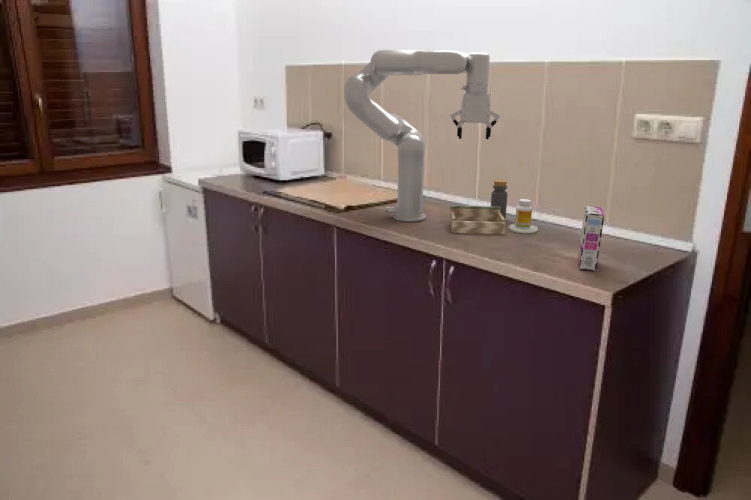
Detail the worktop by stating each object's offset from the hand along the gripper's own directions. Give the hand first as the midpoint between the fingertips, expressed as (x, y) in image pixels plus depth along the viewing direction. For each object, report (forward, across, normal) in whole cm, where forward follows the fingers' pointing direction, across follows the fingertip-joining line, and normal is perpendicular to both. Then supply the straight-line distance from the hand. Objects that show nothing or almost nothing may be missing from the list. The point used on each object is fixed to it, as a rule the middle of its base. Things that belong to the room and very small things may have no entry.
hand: (473, 138), depth 209 cm
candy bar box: (+31, +29, -50) cm, 65 cm away
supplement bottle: (+30, +18, -11) cm, 36 cm away
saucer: (+30, +18, -12) cm, 37 cm away
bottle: (+31, +11, +2) cm, 33 cm away
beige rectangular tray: (+30, +2, -12) cm, 32 cm away
